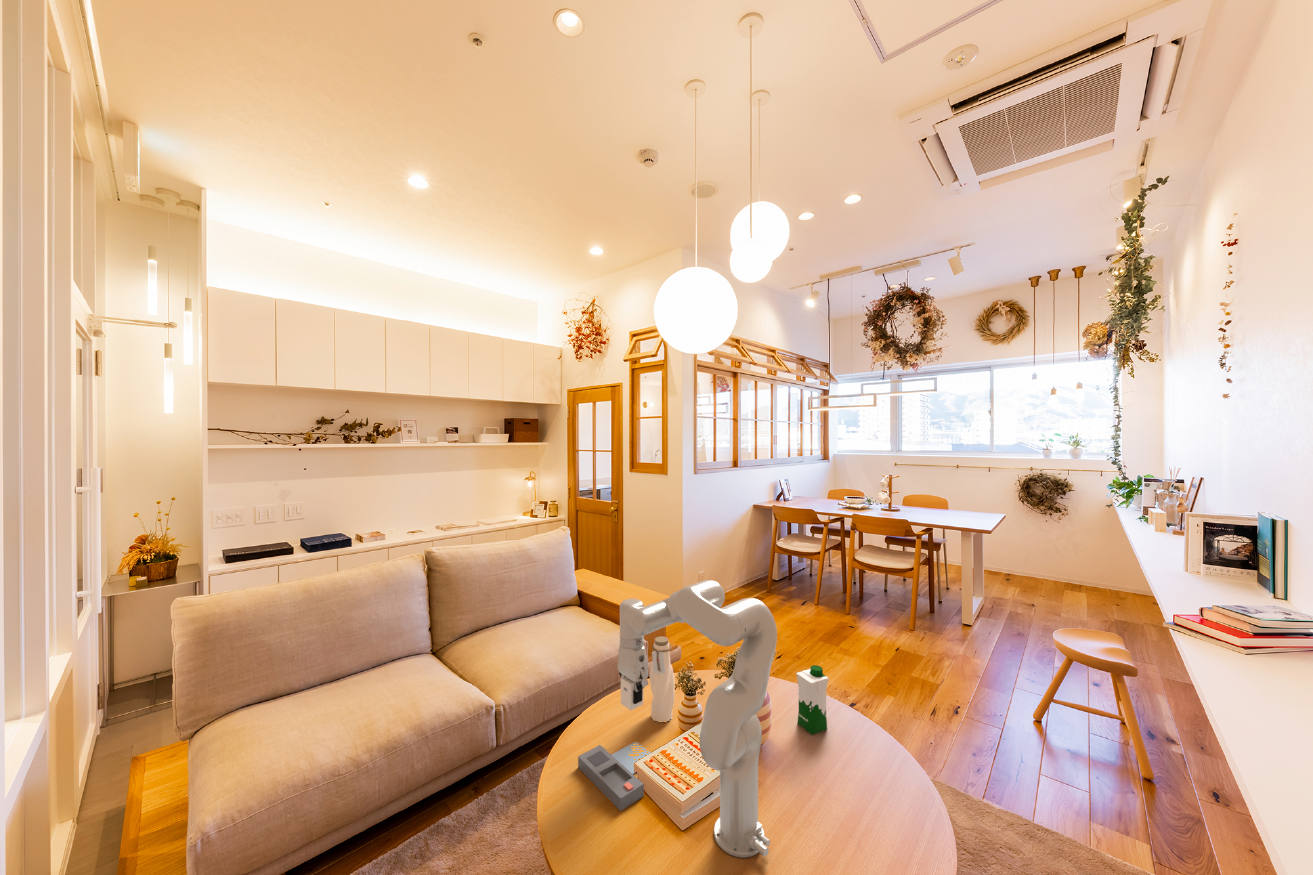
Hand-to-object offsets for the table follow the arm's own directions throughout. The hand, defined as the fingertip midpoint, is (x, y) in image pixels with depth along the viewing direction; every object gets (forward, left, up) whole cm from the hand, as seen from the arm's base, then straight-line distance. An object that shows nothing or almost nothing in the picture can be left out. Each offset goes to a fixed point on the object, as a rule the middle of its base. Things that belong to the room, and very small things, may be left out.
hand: (632, 697), depth 147 cm
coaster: (0, 0, -20) cm, 20 cm away
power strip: (-3, +11, -20) cm, 22 cm away
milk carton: (-28, -57, -20) cm, 67 cm away
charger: (0, 0, -2) cm, 2 cm away
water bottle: (+10, -21, -20) cm, 31 cm away
